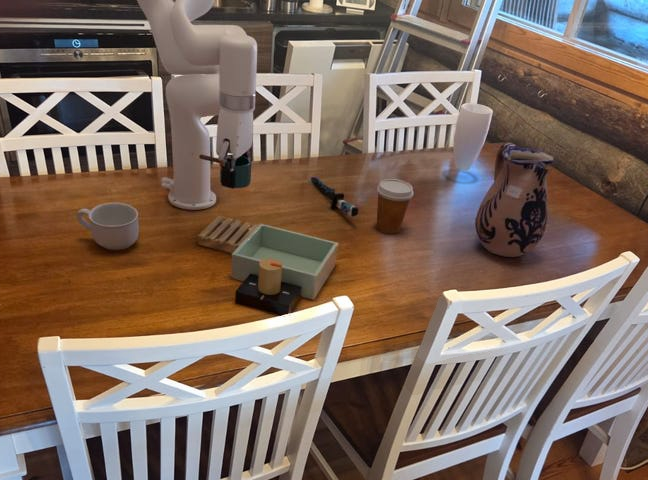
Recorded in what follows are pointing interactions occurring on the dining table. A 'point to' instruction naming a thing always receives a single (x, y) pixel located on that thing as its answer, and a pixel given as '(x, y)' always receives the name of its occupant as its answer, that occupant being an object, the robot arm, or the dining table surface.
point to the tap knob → (270, 276)
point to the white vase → (470, 134)
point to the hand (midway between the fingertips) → (235, 180)
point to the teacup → (112, 225)
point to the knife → (335, 198)
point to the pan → (236, 169)
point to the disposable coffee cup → (392, 204)
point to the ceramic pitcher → (515, 202)
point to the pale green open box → (287, 257)
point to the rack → (225, 234)
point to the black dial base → (268, 296)
